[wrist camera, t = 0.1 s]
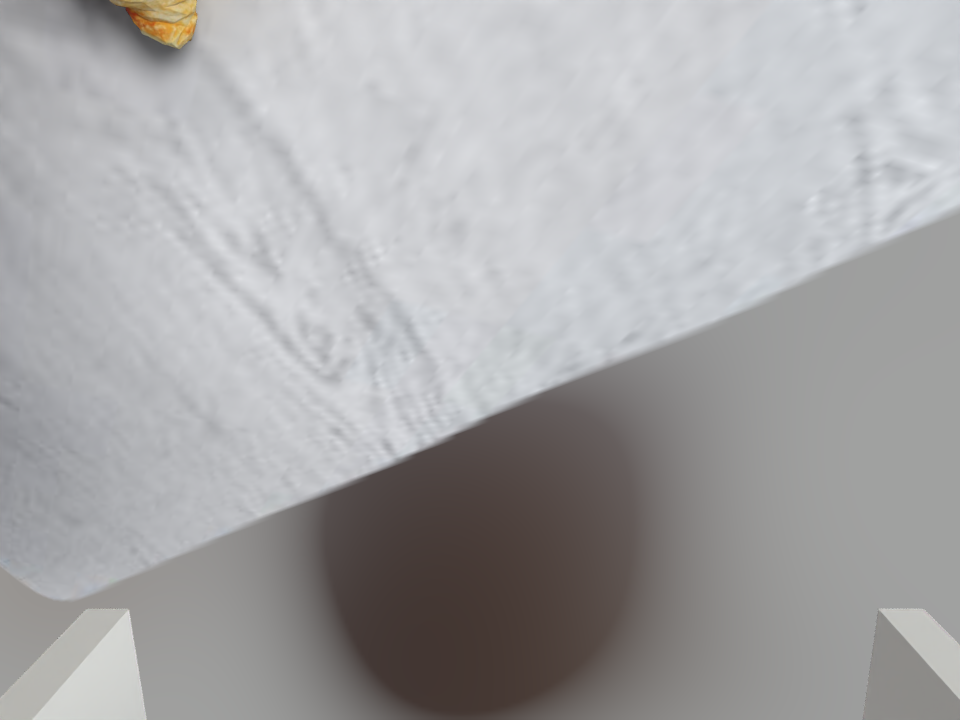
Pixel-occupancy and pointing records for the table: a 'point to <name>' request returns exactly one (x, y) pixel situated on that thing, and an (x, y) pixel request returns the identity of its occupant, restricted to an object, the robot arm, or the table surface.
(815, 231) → the table surface
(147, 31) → the croissant
